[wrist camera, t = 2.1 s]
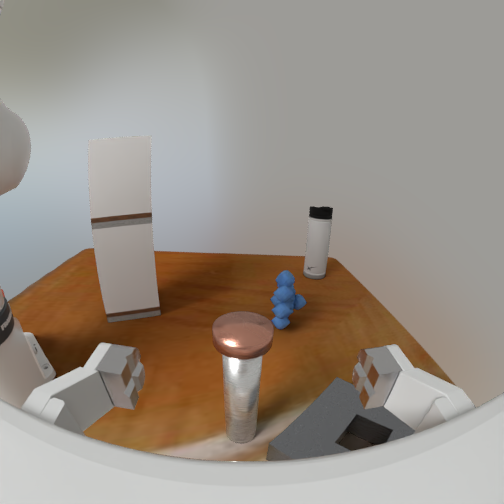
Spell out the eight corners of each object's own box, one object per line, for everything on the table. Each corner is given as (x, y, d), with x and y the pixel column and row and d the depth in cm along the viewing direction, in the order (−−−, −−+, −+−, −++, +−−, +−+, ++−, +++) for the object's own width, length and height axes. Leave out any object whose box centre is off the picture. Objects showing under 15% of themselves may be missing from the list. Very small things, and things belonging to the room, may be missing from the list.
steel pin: (210, 431, 28) (200, 325, 23) (240, 410, 31) (243, 305, 26) (241, 455, 24) (243, 354, 19) (270, 431, 28) (285, 327, 23)
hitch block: (266, 459, 24) (268, 443, 23) (330, 396, 34) (336, 377, 33) (382, 520, 14) (398, 510, 12) (425, 437, 24) (438, 419, 22)
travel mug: (308, 280, 73) (315, 206, 66) (300, 271, 79) (306, 202, 73) (328, 279, 74) (337, 207, 67) (319, 270, 80) (327, 203, 74)
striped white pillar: (153, 292, 62) (146, 140, 51) (160, 315, 53) (151, 135, 42) (108, 298, 57) (94, 144, 46) (108, 322, 48) (88, 140, 37)
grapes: (302, 347, 45) (311, 286, 41) (263, 343, 46) (268, 282, 42) (303, 314, 56) (310, 261, 52) (271, 311, 57) (275, 257, 53)
